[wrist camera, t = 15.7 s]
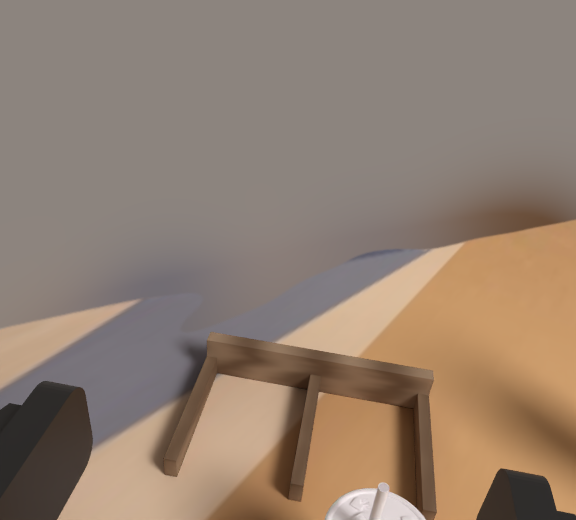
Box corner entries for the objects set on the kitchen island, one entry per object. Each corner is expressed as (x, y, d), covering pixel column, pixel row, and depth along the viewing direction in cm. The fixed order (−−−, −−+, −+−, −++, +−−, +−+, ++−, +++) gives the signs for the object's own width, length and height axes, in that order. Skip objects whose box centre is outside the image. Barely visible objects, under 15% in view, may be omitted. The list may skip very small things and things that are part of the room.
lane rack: (164, 474, 44) (162, 441, 42) (210, 362, 55) (210, 331, 53) (430, 527, 42) (443, 496, 40) (423, 401, 53) (433, 370, 51)
